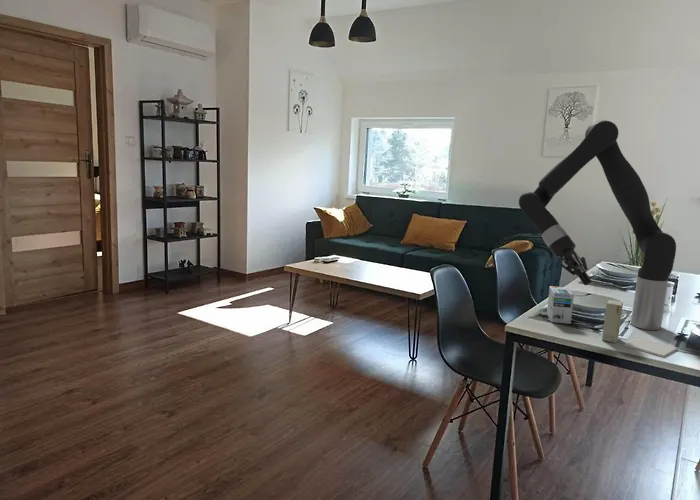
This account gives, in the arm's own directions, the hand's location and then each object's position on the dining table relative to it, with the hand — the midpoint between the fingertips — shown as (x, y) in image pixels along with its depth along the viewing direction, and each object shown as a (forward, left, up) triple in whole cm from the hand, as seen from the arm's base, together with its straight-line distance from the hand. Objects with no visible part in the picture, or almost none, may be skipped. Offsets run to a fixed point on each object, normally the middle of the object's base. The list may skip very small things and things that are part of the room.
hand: (588, 283), depth 170 cm
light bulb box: (-6, -12, -17) cm, 21 cm away
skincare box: (0, +9, -17) cm, 19 cm away
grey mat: (-3, +20, -16) cm, 26 cm away
